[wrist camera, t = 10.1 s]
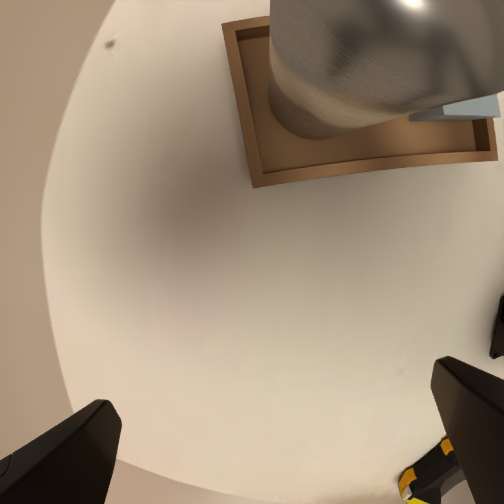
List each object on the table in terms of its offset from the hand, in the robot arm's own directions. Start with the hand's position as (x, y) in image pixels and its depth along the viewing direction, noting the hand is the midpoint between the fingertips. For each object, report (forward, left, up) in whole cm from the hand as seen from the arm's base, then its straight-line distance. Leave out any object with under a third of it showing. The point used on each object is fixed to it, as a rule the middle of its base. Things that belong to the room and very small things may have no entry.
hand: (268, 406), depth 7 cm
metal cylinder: (-4, -9, -11) cm, 15 cm away
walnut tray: (-8, -9, -13) cm, 18 cm away
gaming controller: (-17, +29, -13) cm, 37 cm away
